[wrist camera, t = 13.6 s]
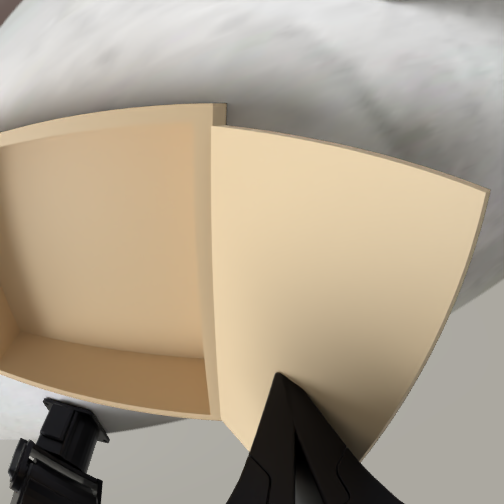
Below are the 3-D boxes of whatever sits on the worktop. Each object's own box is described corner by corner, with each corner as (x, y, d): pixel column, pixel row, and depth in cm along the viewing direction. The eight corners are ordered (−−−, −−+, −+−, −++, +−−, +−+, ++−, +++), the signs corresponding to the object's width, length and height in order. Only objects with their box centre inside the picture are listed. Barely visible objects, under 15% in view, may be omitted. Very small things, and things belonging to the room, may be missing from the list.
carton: (229, 360, 20) (225, 420, 16) (20, 331, 20) (-7, 371, 16) (230, 103, 13) (219, 102, 9) (-32, 142, 13) (-83, 163, 8)
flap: (220, 419, 15) (228, 415, 16) (312, 514, 10) (320, 508, 10) (211, 125, 9) (225, 125, 9) (485, 192, 3) (490, 190, 4)
